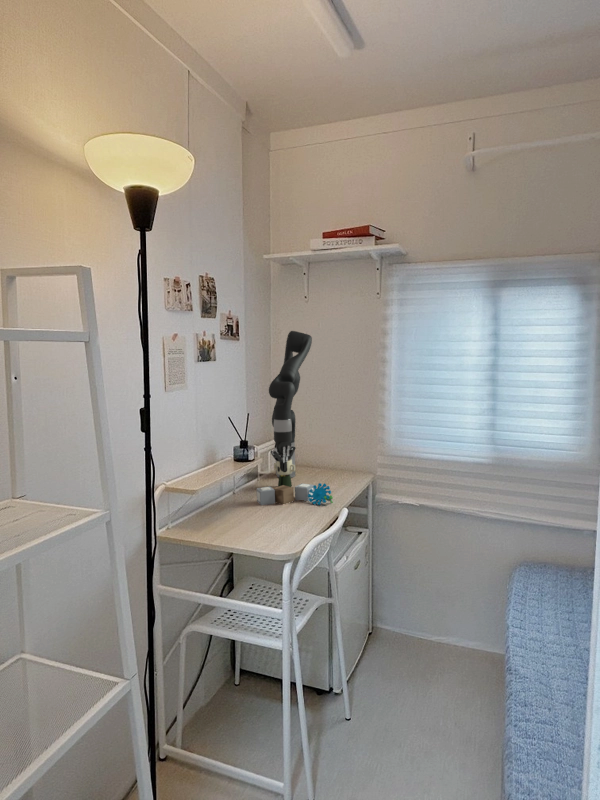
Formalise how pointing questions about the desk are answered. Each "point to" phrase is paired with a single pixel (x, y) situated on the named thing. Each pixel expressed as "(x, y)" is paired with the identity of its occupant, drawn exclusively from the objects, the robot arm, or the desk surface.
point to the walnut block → (284, 494)
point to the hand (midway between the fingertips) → (283, 470)
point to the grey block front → (265, 495)
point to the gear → (320, 494)
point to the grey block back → (303, 491)
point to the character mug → (284, 473)
